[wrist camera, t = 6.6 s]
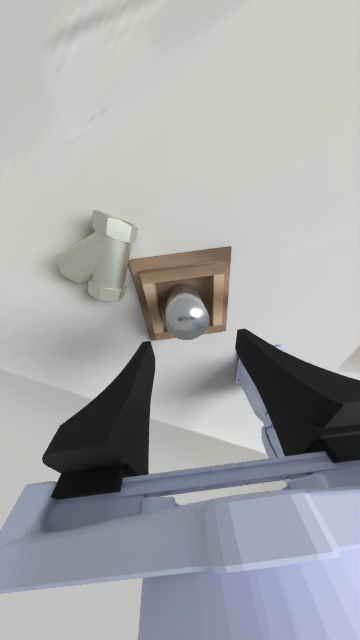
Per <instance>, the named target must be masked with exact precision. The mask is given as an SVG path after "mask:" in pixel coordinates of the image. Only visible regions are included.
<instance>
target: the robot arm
mask: <svg viewBox="0 0 360 640" xmlns="http://www.w3.org/2000/svg"><path fill="white" fill-rule="evenodd" d="M235 349H236V352H237V354H238V356H239V360H238V367H237V373H236V380H235V383H236V384H237V385H239V384H241V386H242V388H243V390H244V392H245V394H246V396H247V399H248V401H249V403H250V405H251V407H252V409H253V411H254V413H255V414H256V416H257V417H258V418H259V419H260V420H261V421H263V423H264V425H265V426H263V427H262V441H263V445H264V447H265V450H266V452H267V454H268V456H269V458H270V459H263V460H254V461H247V462H239V463H232V464H225V465H217V466H210V467H202V468H194V469H186V470H179V471H173V472H172V471H171V472H164V473H156V474H150V475H148V452H149V418H150V401H151V393H152V387H153V380H154V373H155V356H154V353H153V349H152V345H151V342H150V341H146V342H142V344H141V345H140V347H139V348H138V350H137V351H136V353H135V354H134V356H133V357H132V358H131V360H130V361H129V363H128V364H127V365H126V366H125V368H124V369H123V370H122V371H121V373H120V374H119V375H118V376H117V377H116V378H115V379H114V381H113V382H112V383H111V384H110V385H109V386H108V387H107V388H106V389H105V390H103V391H102V392H101V393H100V394H99V395H98V396H97V397H96V398H95V399H94V400H93V401H91V402H90V403H89V404H88V405H87V406H85V407H84V408H83V409H82V410H80V411H79V412H78V413H76V414H75V415H74V416H73V417H71V418H70V419H68V420H67V421H66V422H65V423H63V424H62V425H60V427H59V429H58V430H57V432H56V434H55V436H54V437H53V439H52V441H51V443H50V445H49V446H48V448H47V450H46V452H45V453H44V455H43V458H42V460H43V463H44V464H45V465H47V466H48V467H50V468H52V469H54V470H56V471H57V472H59V473H61V476H60V478H59V480H58V482H42V483H35V484H28V485H27V486H25V488H24V490H23V492H22V493H21V495H20V497H19V499H18V500H17V502H16V504H15V506H14V507H13V509H12V511H11V513H10V515H9V517H8V518H7V520H6V522H5V524H4V525H3V527H2V529H1V531H0V594H3V593H10V592H20V591H28V590H37V589H45V588H55V587H64V586H73V585H82V584H90V583H100V582H109V581H118V580H127V579H136V578H143V582H142V595H141V608H140V622H139V623H140V624H139V635H138V640H360V380H356V379H353V378H349V377H346V376H343V375H340V374H337V373H334V372H331V371H328V370H325V369H323V368H320V367H317V366H315V365H312V364H310V363H307V362H305V361H303V360H300V359H298V358H296V357H294V356H292V355H289V354H287V353H285V352H284V349H285V347H284V346H283V345H281V346H273V345H271V344H269V343H267V342H266V341H264V340H262V339H261V338H259V337H258V336H256V335H254V334H253V333H251V332H250V331H248V330H246V329H239V330H237V338H236V346H235ZM280 480H284V481H285V482H286V484H287V486H286V487H285V488H283V489H281V490H278V491H266V492H257V493H249V494H242V495H234V496H228V497H222V498H216V499H211V500H206V501H200V502H196V503H191V504H187V505H181V506H180V505H179V504H176V503H175V499H174V497H159V496H166V495H174V494H182V493H189V492H197V491H203V490H211V489H219V488H227V487H234V486H242V485H249V484H257V483H264V482H272V481H280Z"/></svg>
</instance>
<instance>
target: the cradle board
mask: <svg viewBox="0 0 360 640" xmlns="http://www.w3.org/2000/svg"><path fill="white" fill-rule="evenodd" d="M230 260H231V246H230V247H222V248H214V249H207V250H199V251H192V252H184V253H177V254H169V255H162V256H154V257H146V258H139V259H131V260H129V264H130V268H131V272H132V275H133V279H134V282H135V286H136V289H137V293H138V296H139V300H140V304H141V307H142V311H143V314H144V318H145V321H146V325H147V329H148V332H149V336H150V339H151V341H152V340H164V339H171V338H176V337H174V336H172V335H171V334H170V333H169V331H168V330H167V327H166V297H167V293H168V291H169V290H170V289H171V288H172V287H173V286H175V285H177V284H181V283H185V284H189V285H191V286H193V287H194V288H195V289H196V290H197V292H198V294H199V296H200V298H201V300H202V302H203V304H204V306H205V308H206V310H207V312H208V314H209V325H208V328H207V329H206V331H205V332H204V333H203V334H209V333H217V332H222V331H226V320H227V305H228V290H229V275H230Z"/></svg>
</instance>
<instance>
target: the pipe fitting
mask: <svg viewBox="0 0 360 640" xmlns="http://www.w3.org/2000/svg"><path fill="white" fill-rule="evenodd" d="M92 228H93V229H94V230H95V233H93V234H91V235H90V236H88V237H86V238H85V239H83V240H81V241H80V242H78V243H76V244H75V245H73V246H72V247H70V248H68V249H67V250H65V251H63V252H62V253H60V254H58V255H57V257H56V262H57V265H58V267H59V269H60V273H61V275H62V276H64V277H67V278H69V279H71V280H72V281H74V282H77V283H83V282H85V281H87V280H89V279H90V280H89V281H88V292H89V294H90V295H92V296H93V297H94V298H96V299H98V300H101V301H105V302H119V301H120V300H122V298H123V297H124V295H125V290H126V286H125V285H124V283H125V278H126V273H127V267H128V262H129V257H130V251H131V246H132V244H133V243H134V242H135V238H136V233H137V227H136V226H135V225H132V224H130V223H128V222H126V221H123V220H121V219H119V218H116V217H114V216H111V215H109V214H106V213H104V212H101V211H98V210H93V216H92Z"/></svg>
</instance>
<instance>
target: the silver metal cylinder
mask: <svg viewBox="0 0 360 640" xmlns="http://www.w3.org/2000/svg"><path fill="white" fill-rule="evenodd" d="M208 325H209V314H208V312H207V310H206V308H205V306H204V304H203V302H202V300H201V298H200V296H199V294H198V292H197V290H196V289H195V288H194V287H193V286H191V285H189V284H185V283H181V284H177V285H175V286H173V287H172V288H171V289H170V290H169V291H168V293H167V297H166V327H167V330H168V331H169V333H170V334H171V335H172V336H174V337H176V338H178V339H182V340H190V339H194V338H197V337H199V336H200V335H202V334H203V333H204V332H205V331H206V329H207V328H208Z"/></svg>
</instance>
